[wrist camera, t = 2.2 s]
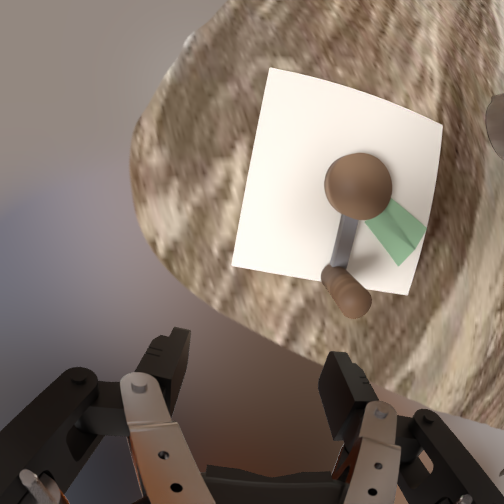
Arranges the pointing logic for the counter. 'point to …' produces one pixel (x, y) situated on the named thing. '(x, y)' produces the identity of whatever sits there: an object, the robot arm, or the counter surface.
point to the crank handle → (353, 222)
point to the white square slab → (313, 175)
